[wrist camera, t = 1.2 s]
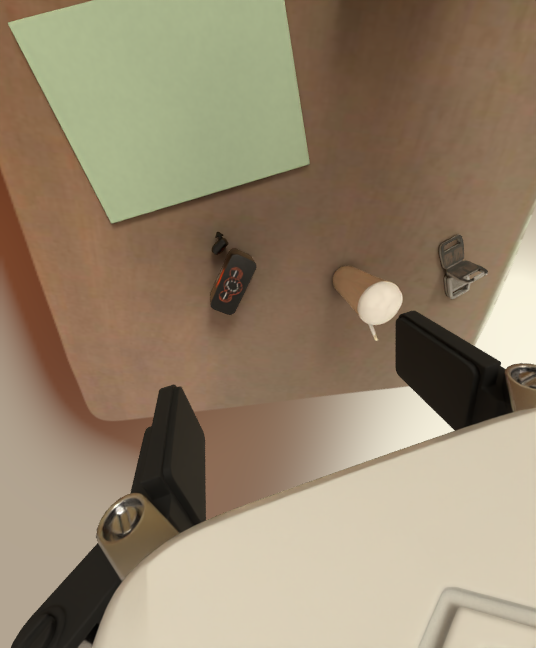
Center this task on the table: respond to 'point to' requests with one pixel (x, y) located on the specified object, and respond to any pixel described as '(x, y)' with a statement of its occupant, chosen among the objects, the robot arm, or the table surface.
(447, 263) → the strap clip
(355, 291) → the milkshake
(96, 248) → the table surface
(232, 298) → the wireless earbuds
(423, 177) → the table surface
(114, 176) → the desk mat
